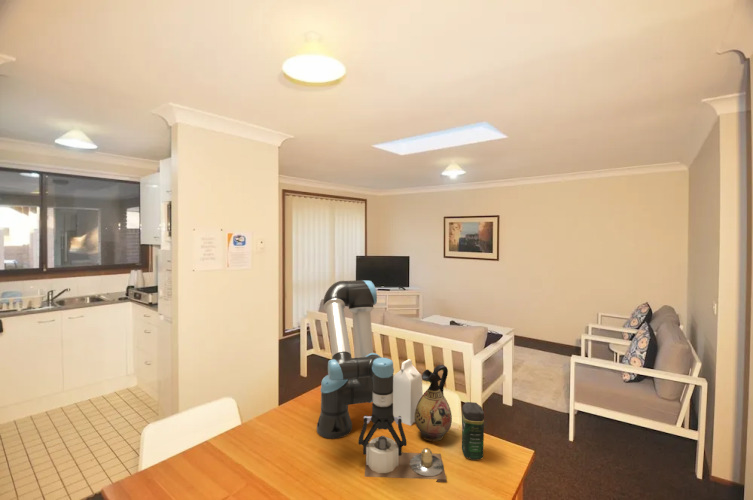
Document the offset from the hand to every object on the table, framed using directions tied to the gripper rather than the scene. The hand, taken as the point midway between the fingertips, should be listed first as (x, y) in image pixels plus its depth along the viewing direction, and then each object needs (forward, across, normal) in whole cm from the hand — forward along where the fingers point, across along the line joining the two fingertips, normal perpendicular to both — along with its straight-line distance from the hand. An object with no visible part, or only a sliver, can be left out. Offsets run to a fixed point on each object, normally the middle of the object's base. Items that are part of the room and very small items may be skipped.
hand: (382, 463), depth 124 cm
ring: (0, 0, 0) cm, 0 cm away
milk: (+2, +10, +36) cm, 38 cm away
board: (+1, +8, 0) cm, 8 cm away
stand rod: (+1, 0, 0) cm, 1 cm away
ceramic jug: (+2, +22, +21) cm, 30 cm away
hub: (+1, +16, 0) cm, 16 cm away
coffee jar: (+2, +35, +10) cm, 36 cm away
